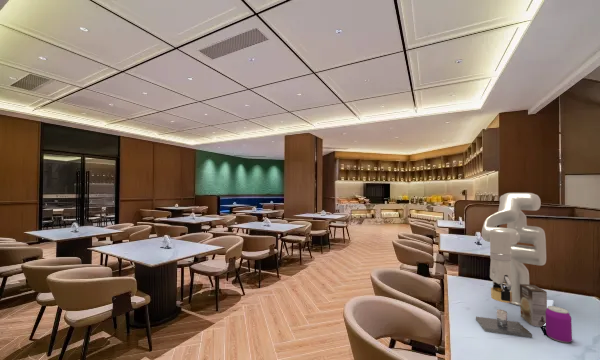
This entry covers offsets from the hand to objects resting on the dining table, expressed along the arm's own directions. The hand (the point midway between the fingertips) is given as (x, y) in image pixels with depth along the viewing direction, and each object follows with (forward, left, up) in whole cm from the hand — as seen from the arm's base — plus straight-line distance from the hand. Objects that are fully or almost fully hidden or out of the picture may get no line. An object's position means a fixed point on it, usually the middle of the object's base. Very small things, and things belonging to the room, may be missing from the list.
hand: (501, 296), depth 117 cm
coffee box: (-17, -12, -14) cm, 25 cm away
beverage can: (-19, +2, -14) cm, 24 cm away
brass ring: (0, 0, -1) cm, 1 cm away
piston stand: (0, 0, -14) cm, 14 cm away
